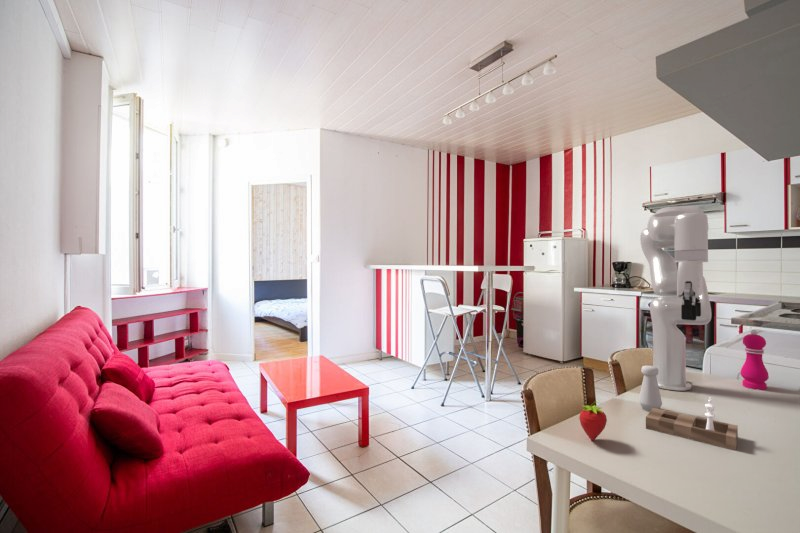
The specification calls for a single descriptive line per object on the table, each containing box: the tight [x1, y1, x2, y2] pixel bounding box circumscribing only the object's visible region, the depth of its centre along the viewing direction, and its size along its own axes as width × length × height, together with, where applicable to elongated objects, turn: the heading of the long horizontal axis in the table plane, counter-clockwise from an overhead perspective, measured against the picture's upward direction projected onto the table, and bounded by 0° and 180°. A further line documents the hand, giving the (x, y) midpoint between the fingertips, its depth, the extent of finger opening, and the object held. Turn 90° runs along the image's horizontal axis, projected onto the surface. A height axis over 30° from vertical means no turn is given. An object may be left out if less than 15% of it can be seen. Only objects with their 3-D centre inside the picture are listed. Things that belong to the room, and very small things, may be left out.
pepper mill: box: [740, 329, 770, 391], centre depth 134 cm, size 7×7×20 cm
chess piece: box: [704, 396, 716, 431], centre depth 97 cm, size 5×5×10 cm
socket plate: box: [645, 408, 739, 451], centre depth 99 cm, size 9×18×3 cm, turn 46°
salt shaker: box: [638, 364, 663, 413], centre depth 115 cm, size 6×6×13 cm
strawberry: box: [578, 401, 608, 441], centre depth 96 cm, size 6×8×10 cm
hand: (691, 317), depth 108 cm, fingers open, 9 cm apart
